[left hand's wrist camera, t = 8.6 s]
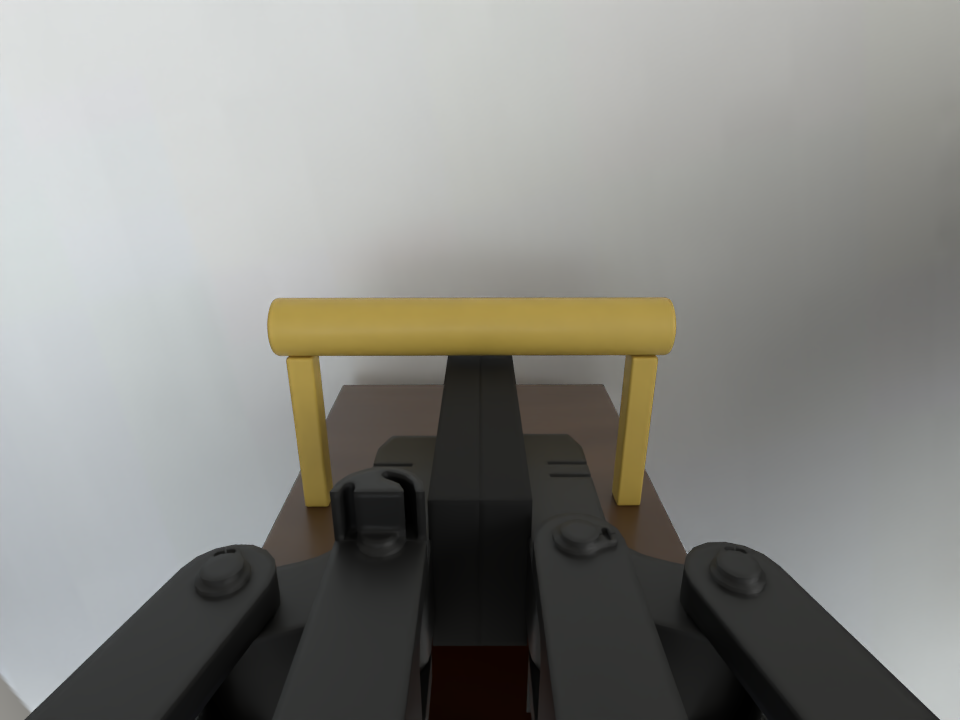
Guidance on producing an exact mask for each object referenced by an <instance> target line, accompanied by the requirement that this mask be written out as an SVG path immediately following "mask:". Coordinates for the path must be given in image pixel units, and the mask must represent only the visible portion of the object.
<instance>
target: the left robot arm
mask: <svg viewBox="0 0 960 720" xmlns="http://www.w3.org/2000/svg"><path fill="white" fill-rule="evenodd" d="M330 500H331V509H332V518H333V528H334V537H335V542H334V545H333V548H332V550H330V551H328V552H326V553H324V554H322V555H320V556H317V557H314V558H311V559H308V560H304V561H300V562H296V563H291V564H287V565H282V566H278V567H276V564H275V559H274V558H273V557H272V555H271V554H270V553H269V552H268V551H267V550H265V549H263V548H260V547H257V546H254V545H231V546H226V547H221V548H216V549H214V550H211V551H209V552H207V553H205V554H202V555H200V556H198V557H196V558H195V559H193V560H192V561H191V562H189V563H188V564H187V565H185V566H184V567H182V568H181V569H180V570H179V571H178V572H177V573H176V574H175V575H174V576H173V577H172V578H171V579H170V580H169V581H168V582H167V583H166V584H165V585H163V586H162V587H161V588H160V589H159V590H158V591H157V592H156V593H155V594H154V595H153V596H152V597H151V598H150V599H149V600H148V601H147V602H146V603H145V604H144V605H143V606H142V607H141V608H140V609H139V610H138V611H137V612H136V613H135V614H133V615H132V616H131V617H130V618H129V619H128V620H127V621H126V622H125V623H124V624H123V625H122V626H121V627H120V628H119V629H118V630H117V631H116V632H115V633H114V634H113V635H112V636H111V637H110V638H109V639H108V640H107V641H106V642H105V643H103V644H102V645H101V646H100V647H99V648H98V649H97V650H96V651H95V652H94V653H93V654H92V655H91V656H90V657H89V658H88V659H87V660H86V661H85V662H84V663H83V664H82V665H81V666H80V667H79V668H78V669H77V670H76V671H75V672H73V673H72V674H71V675H70V676H69V677H68V678H67V679H66V680H65V681H64V682H63V683H62V684H61V685H60V686H59V687H58V688H57V689H56V690H55V691H54V692H53V693H52V694H51V695H50V696H49V697H48V698H47V699H46V700H44V701H43V702H42V703H41V704H40V705H39V706H38V707H37V708H36V709H35V710H34V711H33V712H32V713H31V714H30V715H29V716H28V717H27V718H26V719H25V720H428V719H429V707H430V696H431V684H432V659H431V647H432V637H433V646H527V634H528V645H529V659H528V684H527V709H526V712H531V718H532V720H940V719H939V718H938V717H937V716H935V715H934V714H933V713H932V712H931V711H930V710H929V709H928V708H927V707H926V706H925V705H924V704H923V703H922V702H921V701H920V700H919V699H918V698H917V697H916V696H915V695H914V694H913V693H911V692H910V691H909V690H908V689H907V688H906V687H905V686H904V685H903V684H902V683H901V682H900V681H899V680H898V679H897V678H896V677H895V676H894V675H893V674H892V673H891V672H890V671H889V670H888V669H886V668H885V667H884V666H883V665H882V664H881V663H880V662H879V661H878V660H877V659H876V658H875V657H874V656H873V655H872V654H871V653H870V652H869V651H868V650H867V649H866V648H865V647H864V646H862V645H861V644H860V643H859V642H858V641H857V640H856V639H855V638H854V637H853V636H852V635H851V634H850V633H849V632H848V631H847V630H846V629H845V628H844V627H843V626H842V625H841V624H840V623H839V622H837V621H836V620H835V619H834V618H833V617H832V616H831V615H830V614H829V613H828V612H827V611H826V610H825V609H824V608H823V607H822V606H821V605H820V604H819V603H818V602H817V601H816V600H815V599H814V598H812V597H811V596H810V595H809V594H808V593H807V592H806V591H805V590H804V589H803V588H802V587H801V586H800V585H799V584H798V583H797V582H796V581H795V580H794V579H793V578H792V577H791V576H790V575H788V574H787V573H786V572H785V571H784V570H783V569H782V568H781V567H780V566H779V565H778V564H776V563H775V562H773V561H772V560H771V559H769V558H768V557H767V556H765V555H764V554H762V553H759V552H757V551H755V550H753V549H750V548H748V547H746V546H742V545H737V544H732V543H728V542H707V543H705V544H702V545H699V546H696V547H694V548H693V549H692V550H691V551H690V552H689V553H688V554H687V556H686V557H685V564H680V563H675V562H671V561H666V560H662V559H657V558H654V557H651V556H647V555H644V554H641V553H639V552H637V551H635V550H633V549H631V548H629V547H627V544H626V541H625V539H624V538H623V536H622V535H621V533H620V532H619V530H618V529H617V528H616V527H614V526H613V525H611V524H610V523H609V522H607V521H606V519H605V516H604V513H603V510H602V507H601V504H600V501H599V498H598V495H597V492H596V489H595V486H594V482H593V479H592V477H591V473H590V470H589V467H588V465H587V461H586V458H585V455H584V452H583V449H582V446H581V445H579V444H578V443H577V442H576V441H575V440H574V439H573V438H572V437H570V436H569V435H568V434H523V430H522V423H521V416H520V409H519V402H518V395H517V388H516V381H515V374H514V367H513V360H512V355H449V356H448V360H447V367H446V374H445V381H444V388H443V395H442V402H441V409H440V416H439V423H438V430H437V436H392V437H391V438H389V439H388V440H387V441H386V442H385V443H384V444H383V445H382V446H380V447H379V448H378V451H377V454H376V457H375V460H374V463H373V467H372V468H366V469H363V470H360V471H357V472H354V473H351V474H349V475H347V476H346V477H344V478H343V479H341V480H339V481H338V482H337V483H336V484H335V485H334V487H333V488H332V489H331V491H330Z"/></svg>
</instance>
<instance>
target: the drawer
mask: <svg viewBox="0 0 960 720" xmlns="http://www.w3.org/2000/svg"><path fill="white" fill-rule="evenodd" d="M267 330H268V338H269V343H270V346H271V349H272V351H273V352H274V353H275V354H276V355H278V356H288V358H287V360H286V363H287V370H288V378H289V385H290V393H291V401H292V408H293V416H294V423H295V431H296V438H297V446H298V453H299V461H300V469H301V471H300V473H299V475H298V477H297V479H296V481H295V483H294V485H293V487H292V489H291V491H290V493H289V495H288V497H287V499H286V501H285V503H284V505H283V507H282V509H281V511H280V513H279V515H278V517H277V519H276V521H275V523H274V525H273V527H272V529H271V531H270V533H269V535H268V537H267V539H266V541H265V543H264V545H263V547H262V548H263V549H265V550H267V551H268V552H269V553H270V554H271V555H272V557H273V558H274V559H275V564H276V567H278V566H282V565H287V564H291V563H296V562H300V561H304V560H308V559H311V558H314V557H317V556H320V555H322V554H324V553H326V552H328V551H330V550H332V548H333V545H334V542H335V537H334V528H333V518H332V509H331V500H330V491H331V489H332V488H333V487H334V485H335V484H336V483H337V482H338V481H339V480H341V479H343V478H344V477H346V476H347V475H349V474H351V473H354V472H357V471H360V470H363V469H366V468H372V467H373V463H374V460H375V457H376V454H377V451H378V448H379V447H380V446H382V445H383V444H384V443H385V442H386V441H387V440H388V439H389V438H391V437H392V436H437V430H438V423H439V416H440V409H441V402H442V395H443V388H444V385H344V386H343V387H342V389H341V391H340V393H339V395H338V397H337V399H336V401H335V403H334V405H333V407H332V409H331V411H330V413H329V415H328V417H327V419H325V410H324V401H323V391H322V382H321V373H320V364H319V356H449V355H626V358H625V368H624V378H623V388H622V398H621V408H620V418H619V415H618V413H617V411H616V409H615V407H614V405H613V403H612V401H611V399H610V397H609V395H608V393H607V391H606V389H605V387H604V385H602V384H559V385H516V388H517V395H518V402H519V409H520V416H521V423H522V430H523V434H568V435H569V436H570V437H572V438H573V439H574V440H575V441H576V442H577V443H578V444H579V445H581V446H582V449H583V452H584V455H585V458H586V461H587V465H588V467H589V470H590V473H591V477H592V479H593V482H594V486H595V489H596V492H597V495H598V498H599V501H600V504H601V507H602V510H603V513H604V516H605V519H606V521H607V522H609V523H610V524H611V525H613V526H614V527H616V528H617V529H618V530H619V532H620V533H621V535H622V536H623V538H624V539H625V541H626V544H627V547H629V548H631V549H633V550H635V551H637V552H639V553H641V554H644V555H647V556H651V557H654V558H657V559H662V560H666V561H671V562H675V563H680V564H685V557H686V556H687V553H686V551H685V549H684V547H683V545H682V543H681V541H680V539H679V537H678V535H677V533H676V531H675V529H674V527H673V525H672V523H671V521H670V519H669V517H668V515H667V513H666V511H665V509H664V507H663V505H662V503H661V501H660V499H659V497H658V495H657V493H656V491H655V488H654V486H653V484H652V482H651V480H650V478H649V476H648V474H647V472H646V470H645V461H646V453H647V445H648V436H649V428H650V420H651V412H652V404H653V396H654V388H655V380H656V372H657V364H658V358H657V356H656V355H666V354H668V353H669V352H670V351H671V349H672V347H673V344H674V340H675V335H676V316H675V310H674V306H673V304H672V302H671V300H670V299H668V298H665V297H639V298H277V299H275V300H273V302H272V303H271V305H270V309H269V313H268V321H267ZM431 659H432V684H431V696H430V707H429V719H428V720H532V718H531V712H526V709H527V684H528V659H529V645H528V634H527V646H433V637H432V647H431Z"/></svg>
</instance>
